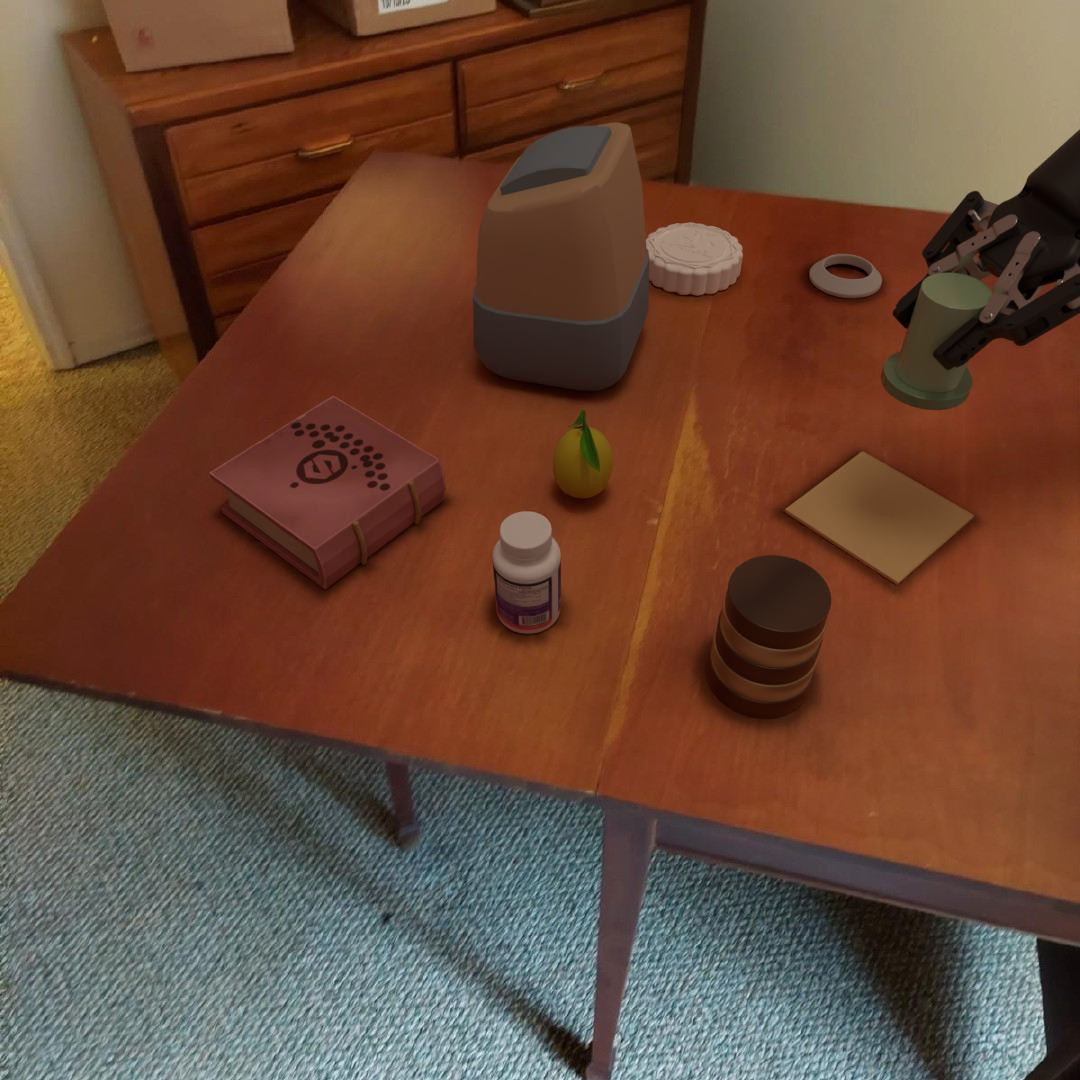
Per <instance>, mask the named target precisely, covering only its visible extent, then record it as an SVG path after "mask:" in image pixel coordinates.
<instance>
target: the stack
mask: <svg viewBox="0 0 1080 1080" xmlns="http://www.w3.org/2000/svg"><path fill="white" fill-rule="evenodd" d="M722 601H723V602H722V607H721V610H720V612H719V615H718V620H717V625H716V626H715V630H714V633H713V638H712V641H711V644H710V647H709V650H708V656H707V662H706V667H705V668H706V669H705V671H706V679H707V682H708V684H709V687H710V688H711V690H712V692H713V694H714V695H715V696H716V697H717V698H718V700H719V701H721V703H722V704H724V705H726V706H727V707H728V708H730V709H732V710H733V711H735V712H737V713H739V714H742V715H744V716H748V717H752V718H757V719H773V718H779V717H783V716H786V715H788V714H790V713H792V712H793V711H795V710H797V709H798V708H799V707H800V706H801V705H802V704H803V703H804V701H805V700H806V699H807V697H808V694H809V692H810V689H811V685H812V683H813V679H814V676H815V670H816V666H817V664H818V660H819V654H820V650H821V647H822V644H823V638H824V637H823V636H824V634H825V631H826V628H827V623H828V618H829V617H828V616H829V614H830V610H831V606H832V593H831V590H830V588H829V585H828V583H827V582H826V580H825V578H824V577H823V576H822V575H821V574H820V573H819V572H818V571H817V570H816V569H814V568H813V567H812V566H810V565H808V564H807V563H805V562H803V561H801V560H798V559H797V558H793V557H790V556H784V555H776V554H765V555H759V556H755V557H752V558H749V559H747V560H745V561H744V562H743V561H742V563H741V564H738V566H736V568H734V570H733V572H732V573H731V575H730V577H729V580H728V583H727V589H726V593H725V595H724V597H723V600H722Z"/></svg>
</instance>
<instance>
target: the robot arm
mask: <svg viewBox="0 0 1080 1080" xmlns="http://www.w3.org/2000/svg"><path fill="white" fill-rule="evenodd" d="M977 254H978V259H977V257H976V255H977ZM921 255H922V257H923V258H924V260H925V262H926V266H927V273H926V275H925V276H924V277H923V278H922V279H921V280H919V282H917V283H916V285H914V286H913V287H911V289H910V290H909V291H908V292H906V294H904V295H903V296H902V297H901V298H900V299H899V300H898V301H897V302H896V304H895V308H894V309H893V310H892V316H893V318H894V319H896V321H897V322H898V323H899V324H900V325H901V326H902V328H904V329H905V330H907V329H908V326H909V323H910V319H911V316H912V313H913V310H914V307H915V304H916V300H917V297H918V294H919V291H920V288H921V284H922V282H923V281H924V279H926V278H927V277H929V276H931V275H933V274H937V273H959V274H964V275H968V276H971V277H973V278H976V279H978V280H980V281H981V280H983V279H985V278H987V277H989V276H991V275H993V276H994V277H996V278H997V280H996V281H995V283H994V285H993V292H992V297H991V298H990V300H989V301H988V303H987V304H986V306H985V307H984V309H983V310H982V312H981V313H980V315H979V319H978V320H976V319H975V318H974V317H973V318H971V319H970V320H969V321H968V322H966V323H965V324H964V325H963V326H962V327H961V328H959V329H958V330H957V331H956V332H955V333H954V334H953V335H951V336H950V337H949V338H948V339H947V340H946V341H944V342H943V343H942V344H941V345H940V346H939V347H938V348H936V349H935V351H934V352H933V356H934V358H935V359H936V360H937V361H938V362H939V363H940V364H941V365H942V366H943V367H944V368H945V369H946V370H950V369H952V368H954V367H956V368H957V367H960V366H962V365H964V364H965V363H966V362H967V361H968V362H969V361H970V360H971V359H972V358H974V357H975V355H977V354H978V353H979V352H981V351H982V350H983V349H984V348H985V347H987V346H988V345H989V344H990V343H991V342H993V341H994V340H996V339H997V340H998V339H1004V340H1007V341H1010V342H1013V344H1015V346H1017V347H1023V346H1026V345H1028V344H1030V343H1032V342H1034V341H1035V340H1036V339H1038V338H1039V337H1041V336H1043V335H1045V334H1046V333H1048V332H1050V331H1052V330H1054V329H1055V328H1057V327H1059V326H1060V325H1062V324H1064V323H1065V322H1067V321H1069V320H1071V319H1072V318H1074V317H1075V316H1078V315H1079V314H1080V128H1079V129H1078V130H1076V132H1075V133H1074V134H1072V135H1071V136H1070V137H1069V138H1068V139H1067V140H1066V141H1064V143H1062V145H1060V146H1059V147H1058V148H1057V149H1056V150H1054V152H1053V153H1052V154H1051V155H1050V156H1048V157H1047V158H1046V159H1045V160H1044V161H1043V162H1042V163H1040V165H1038V166H1037V167H1036V168H1035V169H1034V170H1033V171H1032V172H1030V174H1029V175H1028V176H1027V177H1026V181H1025V184H1024V186H1023V187H1022V189H1021V190H1020V192H1018V193H1017V194H1016V195H1014V196H1013V197H1011V198H1009V199H1005V200H1004V201H1002V202H1001V203H999V204H997V203H995V202H992V201H988V200H986V199H984V197H983V195H982V194H981V193H980V191H978V190H973V191H970V192H969V193H967V194H966V195H965V196H964V197H963V199H962V200H961V201H960V203H959V204H958V205H957V207H956V208H955V209H954V210H953V212H951V214H950V215H949V217H948V218H947V219H946V220H945V222H944V223H943V224H942V225H941V227H940V228H939V229H938V231H936V233H935V234H934V236H933V237H932V238H931V239H930V241H929V242H928V243H927V244H926V245H925V247H924V248H923V250H922V252H921ZM1054 283H1055V285H1054V287H1053V288H1051V289H1049V290H1048V291H1047V292H1045V293H1043V294H1042V295H1039V294H1040V292H1041V291H1042V289H1043V288H1044V287H1045V286H1047V285H1051V284H1054Z"/></svg>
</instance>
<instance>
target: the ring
mask: <svg viewBox="0 0 1080 1080" xmlns="http://www.w3.org/2000/svg"><path fill="white" fill-rule="evenodd" d="M833 265H850V266H854V267H857V268H859V269H861V270H863V271H864V272H866V274H868V275H867V276H865V277H861V278H846V277H840V276H837V275H835V274H832V273H831V272H830V271H828V270H827V269H826V268H828V267H830V266H833ZM808 274H809V275H808V277H809V280H810V282H811V284H812V285H813V286H814V287H815V288H816V289H817V290H819V291H821V292H823V293H825V294H827V295H829V296H833V297H838V298H844V299H862V298H865V297H870V296H873V295H874V294H876V293H877V292H878V291H879V290H880V289H881V287H882V283H883V277H882V275H881V273H880V272H879V270H878V269H877V268H876V267H875V266H874V265H873V263H871V262H870V261H869V260H867V259H866V258H864V257H861V256H858V255H855V254H851V253H850V254H849V253H836V254H832V255H829V256H827V257H825V258H823V259H821V260H819V261H817V262H815V263H814V264H813V265H812V266H811V267H810V269H809V273H808Z"/></svg>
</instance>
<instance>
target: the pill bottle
mask: <svg viewBox="0 0 1080 1080" xmlns="http://www.w3.org/2000/svg"><path fill="white" fill-rule="evenodd" d="M561 554H562V553H561V548H560V546H559V544H558V542H557V541H556V539H555V538H554V537H553V528H552V524H551V522H550V520H549V519H548V518H547V517H546V516H544V515H543V514H541V513H539V512H535V511H527V510H525V511H523V510H522V511H518V512H514V513H512V514H509V515H508V516H507V517H506V518H504V519H503V521H502V522H501V524H500V527H499V539H498V541H497V542H496V544H495V545H494V547H493V551H492V570H493V580H494V581H493V582H494V597H495V609H496V615H497V617H498V619H499V621H500V623H502V625H504V627H506V628H507V629H509V630H510V631H512V632H516V633H519V634H526V635H527V634H528V635H530V634H531V635H532V634H537V633H538V634H539V633H541V632H544V631H546V630H548V629H549V628H550V627H551V626H553V625H554V624H555V622H556V621H557V620H558V619H559V616H560V614H561V610H562V609H561V608H562V555H561Z"/></svg>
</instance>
